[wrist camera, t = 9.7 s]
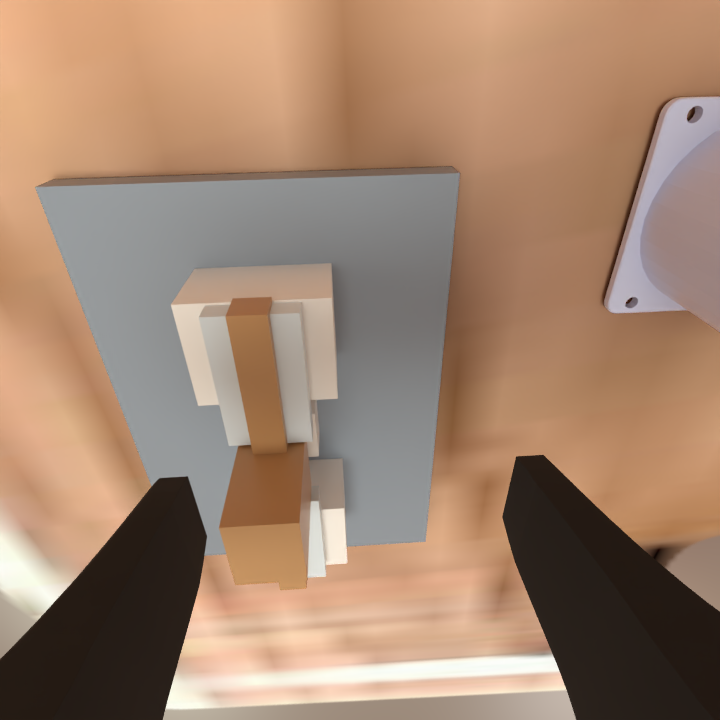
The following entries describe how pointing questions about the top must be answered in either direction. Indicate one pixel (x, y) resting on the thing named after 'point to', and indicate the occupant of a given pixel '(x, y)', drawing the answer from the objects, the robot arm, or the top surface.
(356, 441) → the display stand
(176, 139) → the top surface
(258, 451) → the brown and white bar
